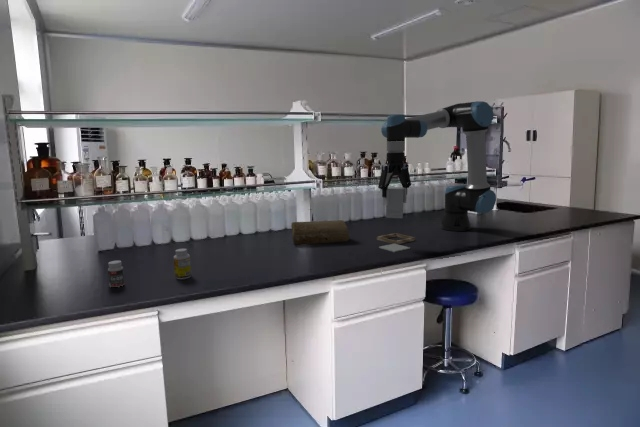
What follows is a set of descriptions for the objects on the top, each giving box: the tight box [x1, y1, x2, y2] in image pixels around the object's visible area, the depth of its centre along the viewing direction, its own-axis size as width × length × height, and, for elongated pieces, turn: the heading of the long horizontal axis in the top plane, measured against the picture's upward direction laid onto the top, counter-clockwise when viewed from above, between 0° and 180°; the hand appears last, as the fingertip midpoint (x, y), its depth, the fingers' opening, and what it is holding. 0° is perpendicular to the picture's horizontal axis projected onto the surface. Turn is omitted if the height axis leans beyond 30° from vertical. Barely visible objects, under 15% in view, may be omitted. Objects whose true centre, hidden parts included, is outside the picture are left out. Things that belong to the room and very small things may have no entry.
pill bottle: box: [107, 259, 125, 288], centre depth 144 cm, size 5×5×8 cm
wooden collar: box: [376, 232, 416, 245], centre depth 203 cm, size 13×13×2 cm
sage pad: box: [378, 243, 411, 253], centre depth 188 cm, size 10×10×1 cm
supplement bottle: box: [173, 248, 192, 280], centre depth 152 cm, size 6×6×10 cm
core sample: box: [290, 219, 350, 246], centre depth 202 cm, size 14×26×10 cm, turn 100°
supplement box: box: [385, 186, 404, 219], centre depth 184 cm, size 7×7×13 cm
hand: (394, 203), depth 184 cm, fingers closed on supplement box, 10 cm apart
